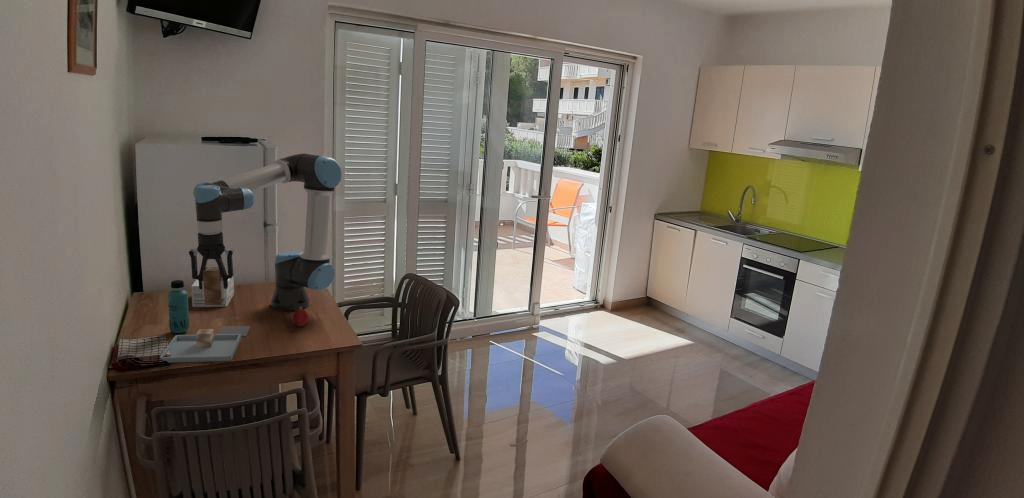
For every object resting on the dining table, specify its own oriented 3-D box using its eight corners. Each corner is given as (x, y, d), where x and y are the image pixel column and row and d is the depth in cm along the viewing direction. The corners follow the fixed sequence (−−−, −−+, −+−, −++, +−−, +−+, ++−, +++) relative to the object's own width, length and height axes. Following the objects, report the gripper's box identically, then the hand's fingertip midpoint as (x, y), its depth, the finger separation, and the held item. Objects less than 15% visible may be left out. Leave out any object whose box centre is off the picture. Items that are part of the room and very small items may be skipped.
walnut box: (223, 299, 208) (221, 266, 205) (221, 304, 203) (219, 271, 200) (208, 300, 206) (205, 266, 203) (205, 305, 202) (202, 271, 199)
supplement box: (201, 294, 257) (200, 273, 255) (234, 294, 261) (233, 273, 258) (191, 307, 241) (190, 285, 239) (226, 307, 245) (226, 285, 243)
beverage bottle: (174, 329, 218) (171, 277, 214) (193, 330, 219) (190, 278, 214) (165, 336, 212) (162, 283, 207) (185, 337, 213) (182, 284, 208)
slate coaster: (250, 327, 226) (250, 325, 226) (246, 337, 217) (246, 335, 217) (221, 327, 224) (221, 326, 223) (216, 338, 214) (216, 336, 214)
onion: (293, 329, 227) (293, 310, 225) (291, 324, 232) (291, 305, 230) (309, 328, 230) (309, 308, 228) (307, 323, 235) (307, 304, 233)
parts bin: (241, 338, 215) (241, 333, 215) (231, 361, 197) (231, 356, 197) (175, 340, 210) (175, 335, 209) (159, 363, 191) (158, 358, 191)
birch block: (213, 342, 210) (213, 329, 209) (211, 347, 205) (210, 333, 204) (199, 342, 209) (199, 329, 207) (196, 347, 204) (196, 334, 203)
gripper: (241, 229, 204) (244, 293, 210) (183, 229, 199) (188, 294, 205) (237, 234, 197) (241, 300, 203) (177, 234, 192) (182, 302, 198)
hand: (214, 297), depth 204 cm, fingers closed on walnut box, 5 cm apart
